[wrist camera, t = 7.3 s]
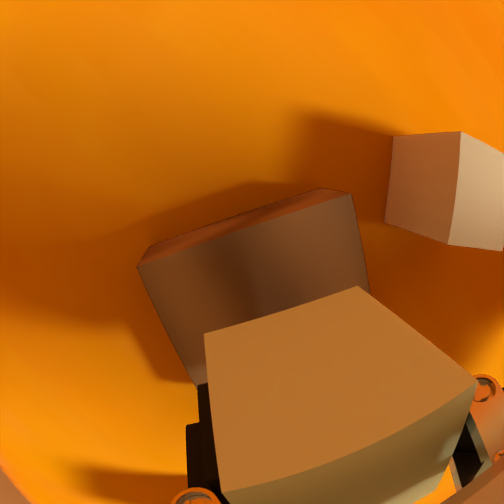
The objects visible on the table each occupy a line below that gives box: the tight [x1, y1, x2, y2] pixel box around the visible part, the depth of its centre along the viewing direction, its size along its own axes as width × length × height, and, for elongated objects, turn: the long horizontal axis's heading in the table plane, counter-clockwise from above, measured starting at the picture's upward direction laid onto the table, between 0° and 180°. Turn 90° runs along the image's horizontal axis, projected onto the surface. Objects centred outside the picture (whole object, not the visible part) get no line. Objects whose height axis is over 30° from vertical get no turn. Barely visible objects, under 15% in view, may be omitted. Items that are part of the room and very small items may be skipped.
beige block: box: [204, 286, 478, 504], centre depth 8 cm, size 6×6×6 cm
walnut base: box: [137, 188, 370, 388], centre depth 16 cm, size 10×10×4 cm
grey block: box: [384, 131, 504, 251], centre depth 15 cm, size 6×6×6 cm
